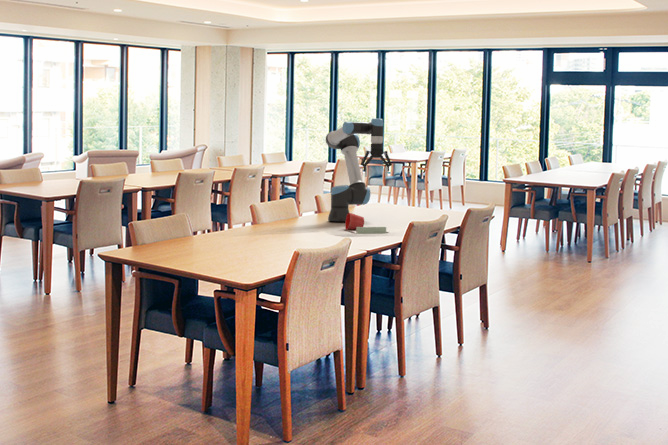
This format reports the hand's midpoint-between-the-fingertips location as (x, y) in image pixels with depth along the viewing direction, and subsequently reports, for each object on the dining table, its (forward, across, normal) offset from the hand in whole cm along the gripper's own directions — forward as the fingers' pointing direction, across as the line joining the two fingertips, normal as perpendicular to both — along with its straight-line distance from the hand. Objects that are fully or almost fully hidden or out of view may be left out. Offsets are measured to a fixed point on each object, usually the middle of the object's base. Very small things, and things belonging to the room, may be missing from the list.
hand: (376, 176), depth 485 cm
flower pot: (+29, -11, -8) cm, 32 cm away
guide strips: (+33, -13, -21) cm, 41 cm away
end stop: (+33, -13, -30) cm, 46 cm away
